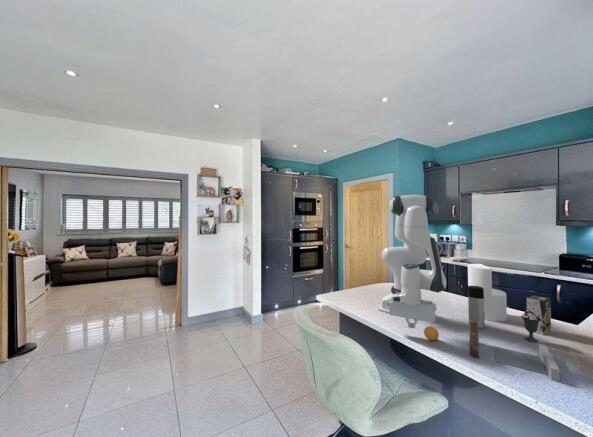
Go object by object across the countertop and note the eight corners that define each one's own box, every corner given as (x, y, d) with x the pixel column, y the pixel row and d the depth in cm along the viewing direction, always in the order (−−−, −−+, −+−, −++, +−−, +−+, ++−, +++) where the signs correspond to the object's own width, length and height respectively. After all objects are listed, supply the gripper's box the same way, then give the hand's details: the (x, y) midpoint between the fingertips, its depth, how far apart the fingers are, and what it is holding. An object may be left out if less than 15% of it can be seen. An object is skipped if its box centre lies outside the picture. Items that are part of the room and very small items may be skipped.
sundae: (517, 337, 115) (516, 304, 115) (530, 336, 116) (529, 304, 116) (531, 344, 109) (531, 310, 109) (545, 343, 109) (545, 309, 109)
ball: (423, 340, 113) (422, 327, 113) (425, 335, 118) (424, 323, 118) (438, 344, 109) (437, 330, 109) (439, 339, 114) (439, 326, 114)
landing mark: (496, 361, 96) (496, 361, 96) (494, 346, 107) (494, 346, 107) (547, 374, 87) (547, 374, 87) (538, 356, 99) (538, 356, 99)
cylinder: (473, 318, 136) (472, 268, 137) (465, 308, 152) (464, 263, 153) (512, 323, 130) (511, 270, 130) (499, 311, 146) (498, 264, 146)
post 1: (470, 342, 110) (469, 322, 110) (470, 339, 113) (469, 320, 113) (478, 344, 109) (478, 324, 109) (478, 341, 111) (477, 321, 111)
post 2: (469, 356, 99) (469, 334, 99) (469, 353, 102) (469, 331, 102) (478, 358, 98) (478, 336, 98) (478, 355, 100) (478, 333, 100)
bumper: (551, 379, 85) (551, 368, 85) (538, 353, 101) (538, 343, 101) (559, 381, 83) (559, 370, 83) (545, 355, 100) (545, 345, 100)
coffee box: (544, 335, 116) (543, 301, 116) (526, 330, 122) (525, 297, 122) (551, 331, 121) (551, 298, 121) (534, 326, 126) (534, 294, 126)
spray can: (487, 328, 124) (486, 289, 124) (472, 327, 125) (471, 288, 125) (480, 323, 130) (479, 285, 131) (466, 322, 132) (465, 285, 132)
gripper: (436, 300, 115) (437, 330, 115) (390, 293, 126) (391, 321, 126) (435, 303, 110) (436, 335, 109) (387, 296, 121) (388, 325, 121)
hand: (411, 327), depth 118 cm, fingers closed
